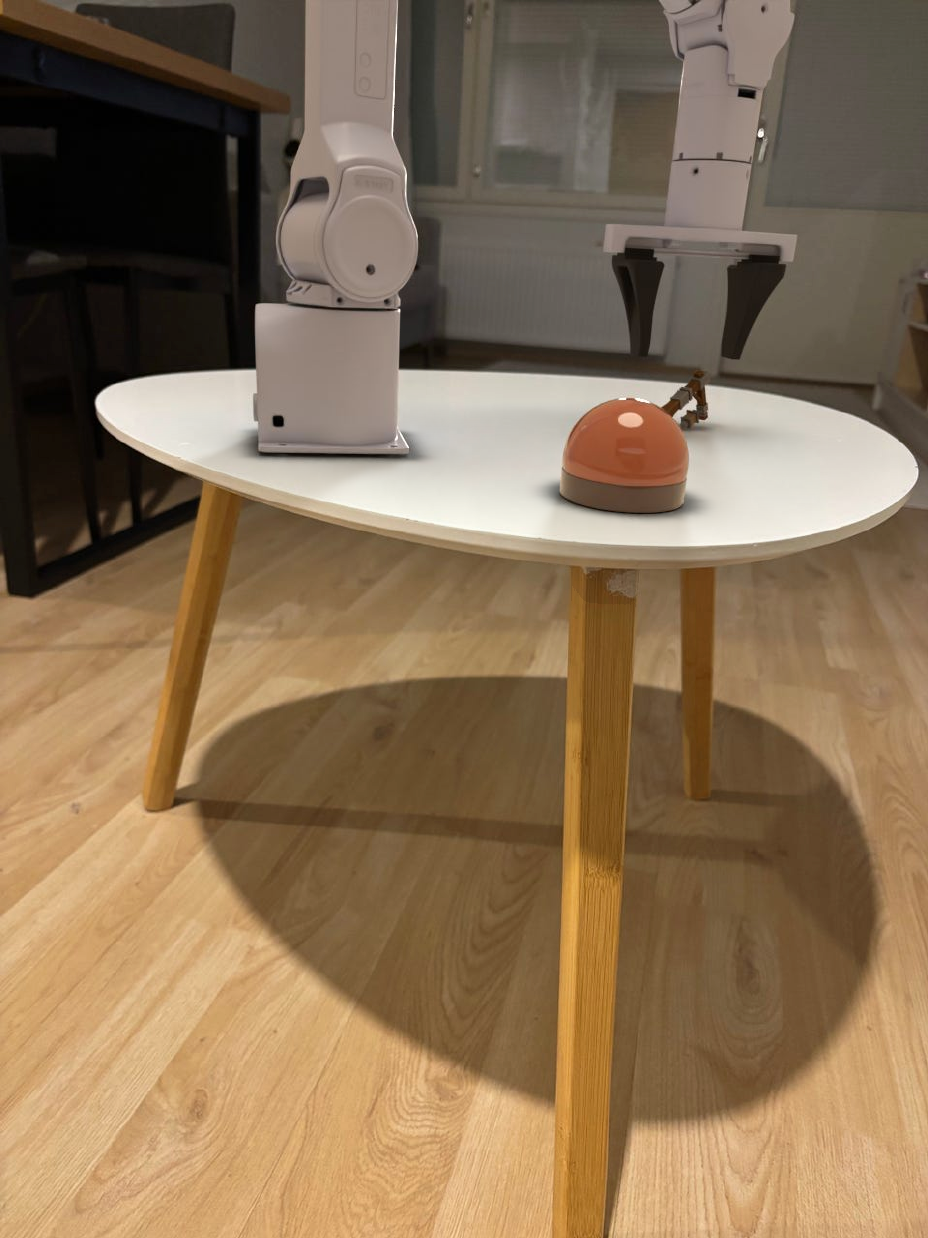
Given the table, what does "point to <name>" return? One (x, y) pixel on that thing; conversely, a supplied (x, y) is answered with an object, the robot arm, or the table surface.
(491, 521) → the table surface
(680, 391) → the wooden post with brackets
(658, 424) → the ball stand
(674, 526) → the table surface
